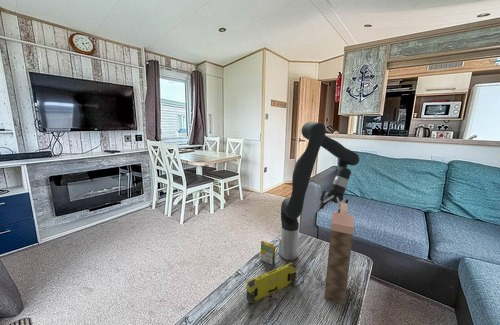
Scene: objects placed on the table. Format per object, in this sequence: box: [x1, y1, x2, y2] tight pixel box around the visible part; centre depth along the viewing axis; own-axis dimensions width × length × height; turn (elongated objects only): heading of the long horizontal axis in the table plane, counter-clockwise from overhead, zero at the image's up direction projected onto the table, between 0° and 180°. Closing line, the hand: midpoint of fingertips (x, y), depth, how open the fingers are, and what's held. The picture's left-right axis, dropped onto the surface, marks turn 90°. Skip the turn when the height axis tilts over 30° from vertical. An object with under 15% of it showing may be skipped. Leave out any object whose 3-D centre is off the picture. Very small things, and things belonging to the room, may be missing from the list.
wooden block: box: [323, 229, 354, 306], centre depth 91 cm, size 8×12×32 cm, turn 155°
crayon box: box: [259, 240, 276, 266], centre depth 113 cm, size 7×3×12 cm, turn 59°
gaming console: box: [246, 262, 298, 304], centre depth 92 cm, size 26×4×10 cm, turn 121°
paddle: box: [330, 202, 355, 236], centre depth 93 cm, size 8×26×3 cm, turn 155°
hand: (329, 212), depth 120 cm, fingers open, 8 cm apart
